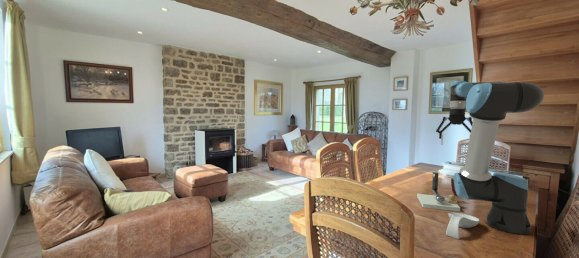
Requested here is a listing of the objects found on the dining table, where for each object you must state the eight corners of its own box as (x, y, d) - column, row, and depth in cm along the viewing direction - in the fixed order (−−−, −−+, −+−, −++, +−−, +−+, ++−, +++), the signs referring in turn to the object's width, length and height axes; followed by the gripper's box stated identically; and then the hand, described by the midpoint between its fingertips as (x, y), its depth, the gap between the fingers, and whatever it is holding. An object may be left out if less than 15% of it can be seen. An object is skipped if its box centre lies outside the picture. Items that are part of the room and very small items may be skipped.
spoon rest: (451, 217, 122) (452, 203, 122) (481, 225, 114) (482, 209, 113) (436, 233, 106) (437, 216, 105) (470, 244, 97) (471, 225, 97)
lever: (445, 201, 132) (446, 179, 131) (436, 200, 133) (437, 178, 132) (438, 192, 147) (439, 172, 147) (430, 191, 149) (431, 172, 148)
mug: (472, 196, 153) (473, 180, 152) (469, 199, 147) (470, 182, 147) (452, 192, 161) (453, 177, 160) (448, 195, 155) (449, 179, 154)
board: (460, 211, 129) (460, 199, 129) (423, 207, 134) (423, 195, 134) (449, 200, 146) (450, 189, 146) (417, 196, 151) (417, 186, 151)
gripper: (484, 108, 141) (482, 146, 143) (432, 108, 155) (431, 143, 156) (485, 108, 135) (483, 147, 136) (432, 108, 149) (430, 144, 150)
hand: (455, 145), depth 146 cm, fingers open, 13 cm apart
